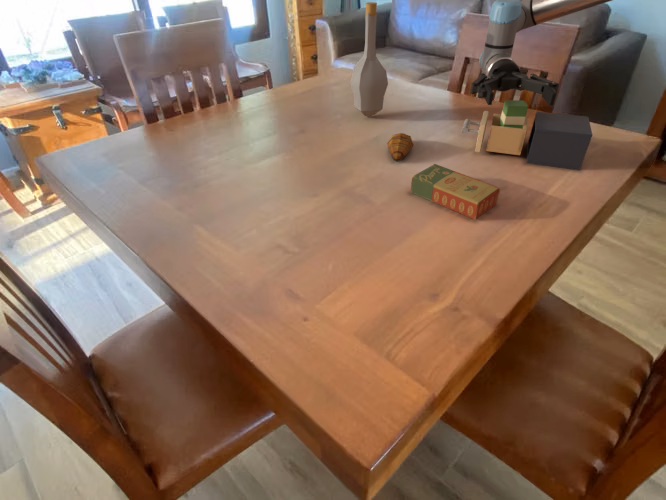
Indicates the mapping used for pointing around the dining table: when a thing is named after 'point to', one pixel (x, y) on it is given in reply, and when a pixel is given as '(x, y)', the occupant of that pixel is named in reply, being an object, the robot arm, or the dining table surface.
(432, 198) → the carton
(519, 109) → the block
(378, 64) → the bottle
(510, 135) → the drawer
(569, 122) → the cabinet
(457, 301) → the dining table surface
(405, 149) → the croissant
